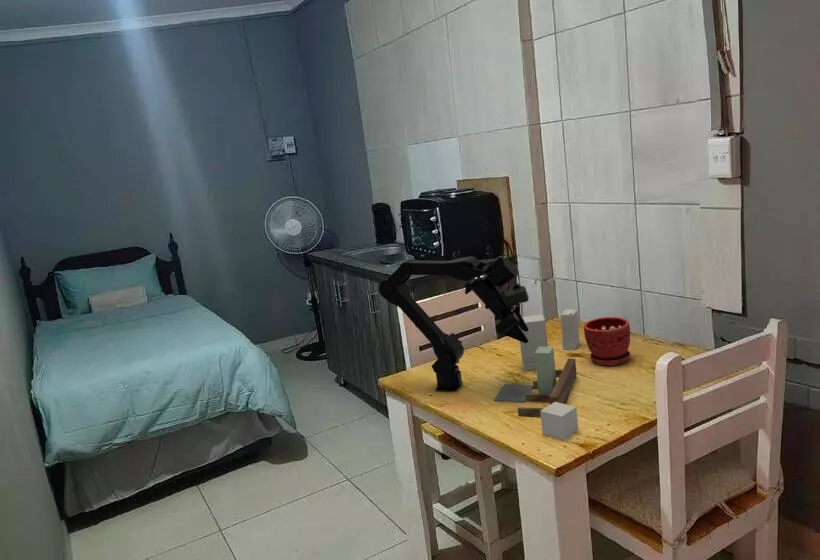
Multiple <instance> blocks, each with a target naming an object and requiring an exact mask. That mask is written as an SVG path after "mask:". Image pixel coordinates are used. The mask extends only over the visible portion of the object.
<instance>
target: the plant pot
mask: <svg viewBox="0 0 820 560" xmlns="http://www.w3.org/2000/svg"><path fill="white" fill-rule="evenodd" d="M603 327H605V329H602V328H603ZM611 327H614V328H611ZM610 328H611V329H610ZM583 333H584V338H585V341H586V345H587V346H586V347H587V348H588V350H589V352H590V354H589V357H590V359H591V361H592V362H594V363H596V364H598V365H602V366H616V365H621V364H622V363H626V362H627V361H628V360H629V358H630V357H631V352H630V351H629V347H630V344H631V343H630V342H631V327H630V322H629V320H628V319H626V318H624V317H616V316H605V317H598V318H593V319H591V320H588V321H586V322H585V323H584V324H583Z"/></svg>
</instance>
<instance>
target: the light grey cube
mask: <svg viewBox="0 0 820 560" xmlns="http://www.w3.org/2000/svg"><path fill="white" fill-rule="evenodd" d="M543 408H544V409H543V410H541V411H540V412H541V417H540V422H541V430H542V435H545V436H548V435H549V436H548V437H553V438H556V439H558V438H559V439H558V440H562V439H563V440H562V441H565V440H566V439H568V438H570V437H571V436H572V435H574V434H575V433H577V432H578V431H579V423H578V412H577V406H574V405H570V404H567V403H566V404H562V403H558V402H554V403H552V404H551V405H550V404H549V405H547V406H546V407H543ZM577 430H578V431H577ZM574 432H575V433H574ZM573 433H574V434H573ZM571 434H572V435H571ZM570 435H571V436H570ZM567 437H568V438H567Z"/></svg>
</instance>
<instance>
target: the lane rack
mask: <svg viewBox="0 0 820 560" xmlns="http://www.w3.org/2000/svg"><path fill="white" fill-rule="evenodd" d="M555 370H556V378H558V379H557V380H556V381H557V383H556V385H555V387H554V389H553V391H552V393H551V394H539V393H532V392H531V393H526V402H533V403H534V402H535V403H549V405H551V404H552V403H554V402H558V403H562V404H566V405H567V401H568V399H569V397H570V394H571V391H572V389H573V387H574V385H573V384H575V381H576V380H577V377H578V375H577V374H578V373H577V362H576V358H571V357H570V358H567V359H566V362H565V364H564V366H563V369H555ZM532 385H533V389H537V390H538V382H537V380H533V381H532ZM544 408H545V407H525V406H524V407H523V406H522V407H521V406H520V407H519V406H518V408H517V414H518V416H521V417H536V418H537V417H540V418H541V412H540V411H541V410H543V409H544Z"/></svg>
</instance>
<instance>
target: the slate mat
mask: <svg viewBox="0 0 820 560" xmlns="http://www.w3.org/2000/svg"><path fill="white" fill-rule="evenodd" d="M533 389H534V388H533V384H516V383H515V384H513V383H512V384H511V383H510V384H509V383H508V384H507V383H504V384H503V385H502V386H501V388H500V390H499V391H498V392H497V394H496V395H495V397H494V398H493V401H494V402H505V403H506V402H507V403H526V402H527V401H526V393H531V394H532V391H533Z"/></svg>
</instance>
